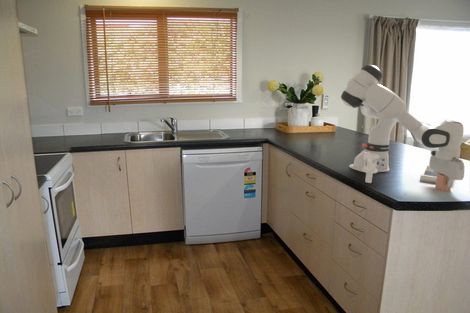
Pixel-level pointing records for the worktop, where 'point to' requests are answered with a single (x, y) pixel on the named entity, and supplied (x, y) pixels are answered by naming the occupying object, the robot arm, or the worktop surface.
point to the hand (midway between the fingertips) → (443, 183)
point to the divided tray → (428, 175)
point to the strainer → (370, 165)
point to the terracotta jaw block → (442, 182)
